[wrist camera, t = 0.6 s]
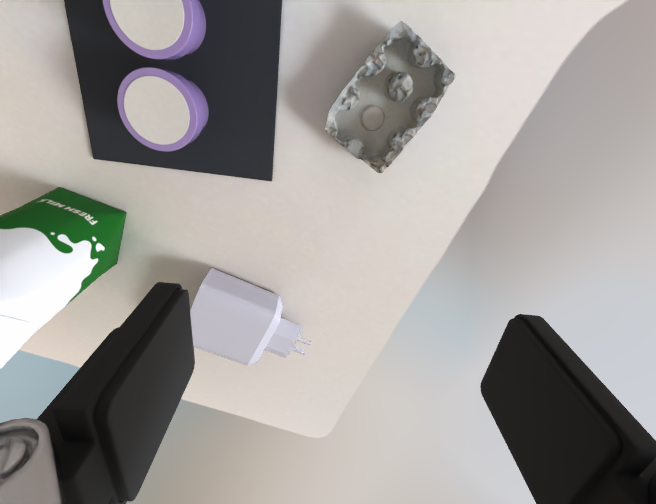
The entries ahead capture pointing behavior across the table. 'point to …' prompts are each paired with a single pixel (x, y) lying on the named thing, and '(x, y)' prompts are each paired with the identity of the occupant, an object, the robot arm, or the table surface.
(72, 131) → the table surface
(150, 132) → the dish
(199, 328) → the charger
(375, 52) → the egg carton
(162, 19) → the dish middle
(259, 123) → the placemat
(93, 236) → the milk carton
